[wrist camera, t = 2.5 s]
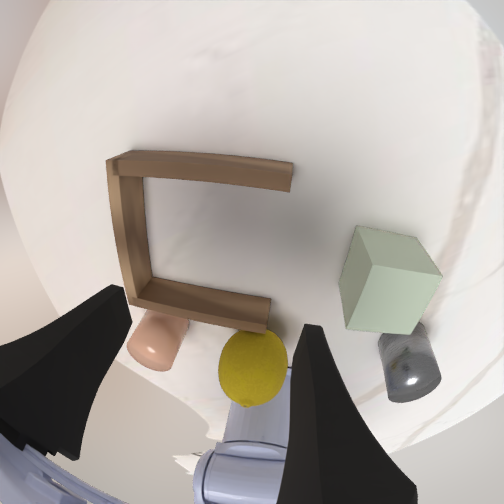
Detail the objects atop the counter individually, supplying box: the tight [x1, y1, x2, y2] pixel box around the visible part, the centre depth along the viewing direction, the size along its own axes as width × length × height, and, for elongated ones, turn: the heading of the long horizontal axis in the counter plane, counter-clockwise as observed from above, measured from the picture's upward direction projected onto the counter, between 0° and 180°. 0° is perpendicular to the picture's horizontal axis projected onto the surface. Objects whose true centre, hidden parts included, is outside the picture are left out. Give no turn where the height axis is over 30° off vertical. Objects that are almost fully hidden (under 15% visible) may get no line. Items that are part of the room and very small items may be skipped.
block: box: [339, 226, 443, 335], centre depth 17 cm, size 5×5×5 cm
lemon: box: [218, 329, 288, 408], centre depth 21 cm, size 6×6×8 cm
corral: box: [106, 151, 293, 334], centre depth 18 cm, size 12×12×3 cm
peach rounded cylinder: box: [127, 310, 189, 371], centre depth 23 cm, size 4×4×5 cm
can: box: [378, 322, 441, 403], centre depth 20 cm, size 5×5×6 cm
